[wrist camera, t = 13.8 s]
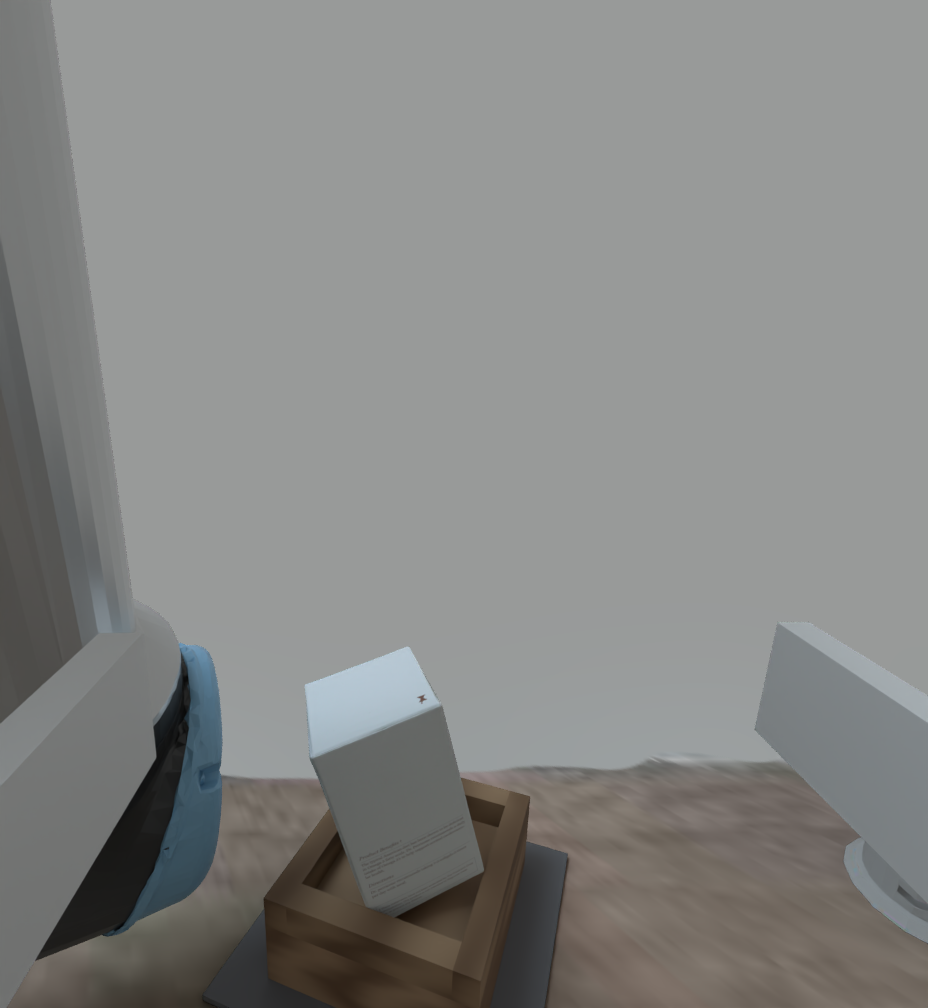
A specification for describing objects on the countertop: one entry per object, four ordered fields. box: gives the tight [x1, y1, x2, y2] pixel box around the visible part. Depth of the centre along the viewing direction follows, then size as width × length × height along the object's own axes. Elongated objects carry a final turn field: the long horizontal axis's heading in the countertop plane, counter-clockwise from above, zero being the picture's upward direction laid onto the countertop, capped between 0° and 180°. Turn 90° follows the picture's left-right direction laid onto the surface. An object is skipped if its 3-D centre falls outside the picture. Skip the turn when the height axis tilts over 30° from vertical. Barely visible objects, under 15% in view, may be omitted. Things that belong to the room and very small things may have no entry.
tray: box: [264, 778, 530, 1008], centre depth 35 cm, size 13×13×6 cm
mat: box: [202, 842, 568, 1008], centre depth 36 cm, size 19×17×1 cm
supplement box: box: [305, 647, 484, 917], centre depth 33 cm, size 7×7×13 cm
